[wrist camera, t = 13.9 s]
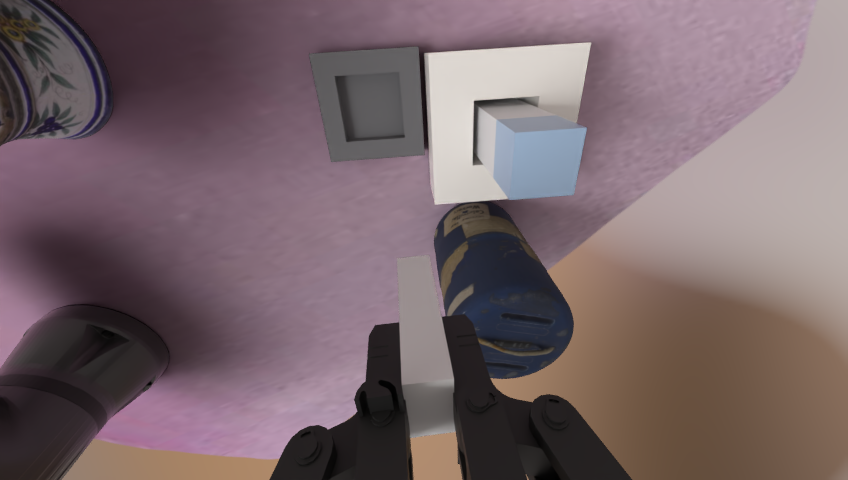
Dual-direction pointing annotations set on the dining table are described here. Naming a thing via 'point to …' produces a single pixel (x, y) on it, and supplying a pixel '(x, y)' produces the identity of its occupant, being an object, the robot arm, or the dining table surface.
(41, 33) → the vase
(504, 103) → the plug
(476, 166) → the block
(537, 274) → the canister
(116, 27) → the dining table surface
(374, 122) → the gray recessed square plate
